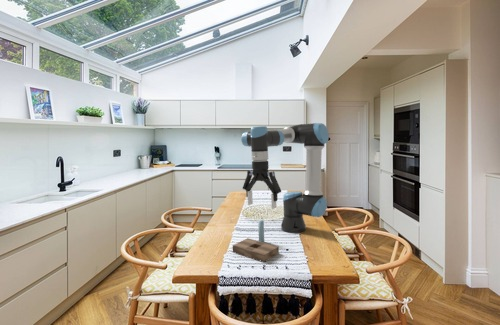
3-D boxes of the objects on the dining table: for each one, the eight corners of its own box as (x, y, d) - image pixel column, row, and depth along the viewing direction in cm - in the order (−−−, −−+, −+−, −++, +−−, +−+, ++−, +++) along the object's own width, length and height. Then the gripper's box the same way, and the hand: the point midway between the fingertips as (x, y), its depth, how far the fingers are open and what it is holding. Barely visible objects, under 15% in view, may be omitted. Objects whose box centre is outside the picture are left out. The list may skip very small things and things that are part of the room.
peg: (261, 240, 155) (260, 219, 154) (265, 241, 153) (264, 220, 152) (257, 242, 153) (257, 221, 152) (262, 243, 151) (261, 222, 150)
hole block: (247, 244, 150) (247, 238, 150) (278, 253, 137) (278, 246, 137) (232, 252, 141) (232, 245, 141) (264, 262, 128) (264, 255, 128)
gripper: (234, 160, 131) (236, 204, 133) (278, 162, 116) (280, 211, 118) (244, 159, 137) (246, 201, 139) (288, 160, 121) (289, 207, 123)
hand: (261, 206), depth 128 cm, fingers open, 13 cm apart
